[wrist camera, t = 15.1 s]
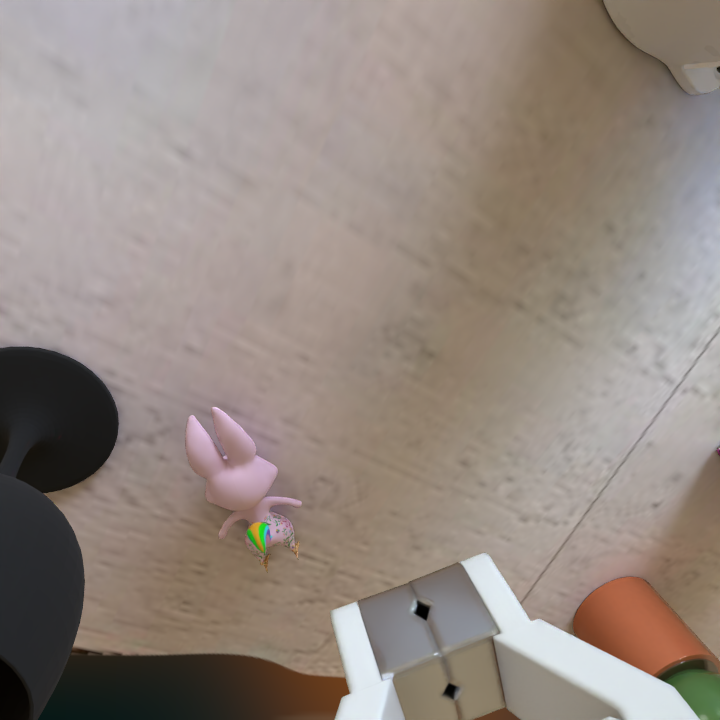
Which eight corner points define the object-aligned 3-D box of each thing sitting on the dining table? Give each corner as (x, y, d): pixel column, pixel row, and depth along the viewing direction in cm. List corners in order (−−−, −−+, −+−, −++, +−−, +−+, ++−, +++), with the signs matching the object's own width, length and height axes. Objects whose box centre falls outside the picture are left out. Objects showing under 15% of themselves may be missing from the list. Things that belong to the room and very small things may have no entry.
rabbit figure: (313, 518, 48) (246, 377, 39) (331, 581, 43) (260, 437, 34) (238, 549, 47) (152, 413, 38) (249, 616, 43) (154, 479, 34)
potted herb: (653, 563, 59) (811, 729, 44) (654, 624, 63) (798, 795, 48) (569, 597, 58) (701, 778, 43) (575, 657, 62) (698, 841, 47)
